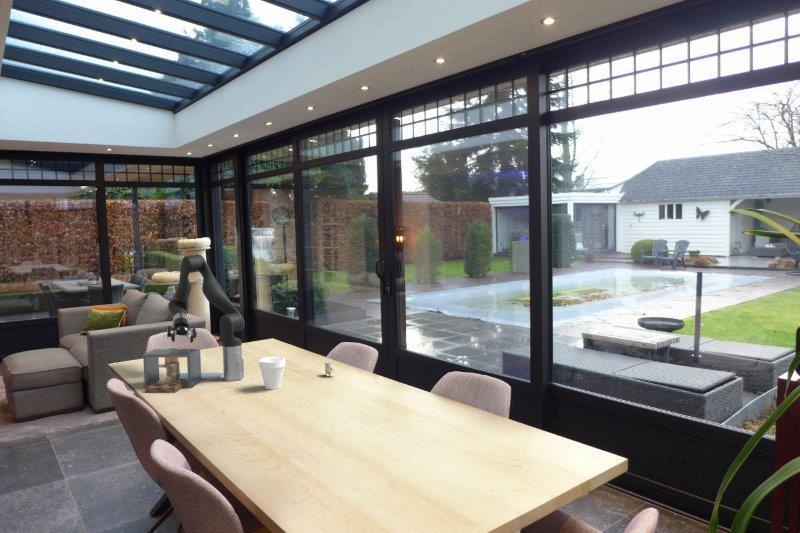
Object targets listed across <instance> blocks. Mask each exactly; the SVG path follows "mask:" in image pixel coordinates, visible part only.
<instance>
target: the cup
mask: <svg viewBox="0 0 800 533" xmlns="http://www.w3.org/2000/svg"><path fill="white" fill-rule="evenodd" d="M258 362H259V365H258V367H259V369H260V372H261V376H262V380H263V384H264V387H265V390H268V389H274V390H278V389H277V388H279V389H281V385H282V380H283V376H284V370H285V367H286V358H285V357H283V356H269V357H267V356H266V357H263V358H260V359H259V360H258Z"/></svg>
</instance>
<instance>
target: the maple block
mask: <svg viewBox="0 0 800 533" xmlns="http://www.w3.org/2000/svg"><path fill="white" fill-rule="evenodd" d="M180 369H181V368H180V361H179V362H169V363H167V364H166V367H165V371H166V379H167V380H166V383H181V380H180V373H181V371H180Z"/></svg>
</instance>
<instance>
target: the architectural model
mask: <svg viewBox="0 0 800 533" xmlns="http://www.w3.org/2000/svg"><path fill="white" fill-rule="evenodd" d="M324 372H325V373H326V374H328V375H329V374H330V375H331V373H333V372H334V373H336V372H337V370H336V369H334V368H333V367H331V362H327V361H324ZM330 375H329V376H330Z"/></svg>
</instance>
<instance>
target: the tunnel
mask: <svg viewBox="0 0 800 533" xmlns="http://www.w3.org/2000/svg"><path fill="white" fill-rule="evenodd" d="M142 357H143V360H142V361H143V379H144V381H143V382H144V383H143V384H144V389H146V387H147V386H149V385H151V384H153V383H157V382H158V383H159V381H160V360H159V358H165V357H178V358H186V363H187V364H186V365H187V373H188V380H187V388H188V389H192V388H194V387H195V386H196V385H198V384H200V383H202V380H201V373H202V365H201V362H202V360H201V359H202V358H201V348H177V349H169V348H154V349H152V350H150V351H148V352H145V353H143V354H142Z"/></svg>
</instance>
